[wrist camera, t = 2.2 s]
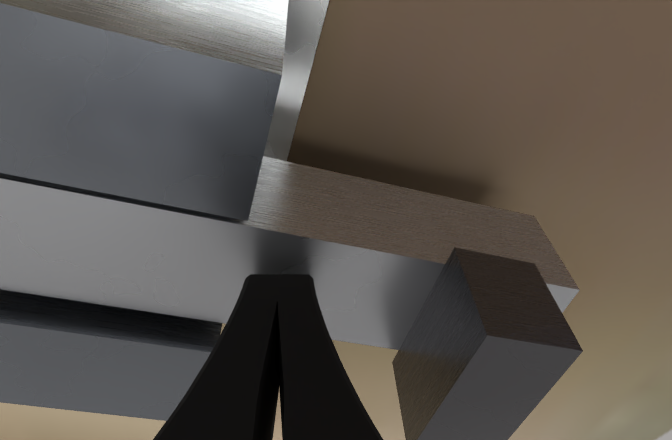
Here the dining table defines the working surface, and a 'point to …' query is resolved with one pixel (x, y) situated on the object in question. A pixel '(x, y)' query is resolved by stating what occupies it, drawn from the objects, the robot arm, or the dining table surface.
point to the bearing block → (139, 165)
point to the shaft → (328, 279)
